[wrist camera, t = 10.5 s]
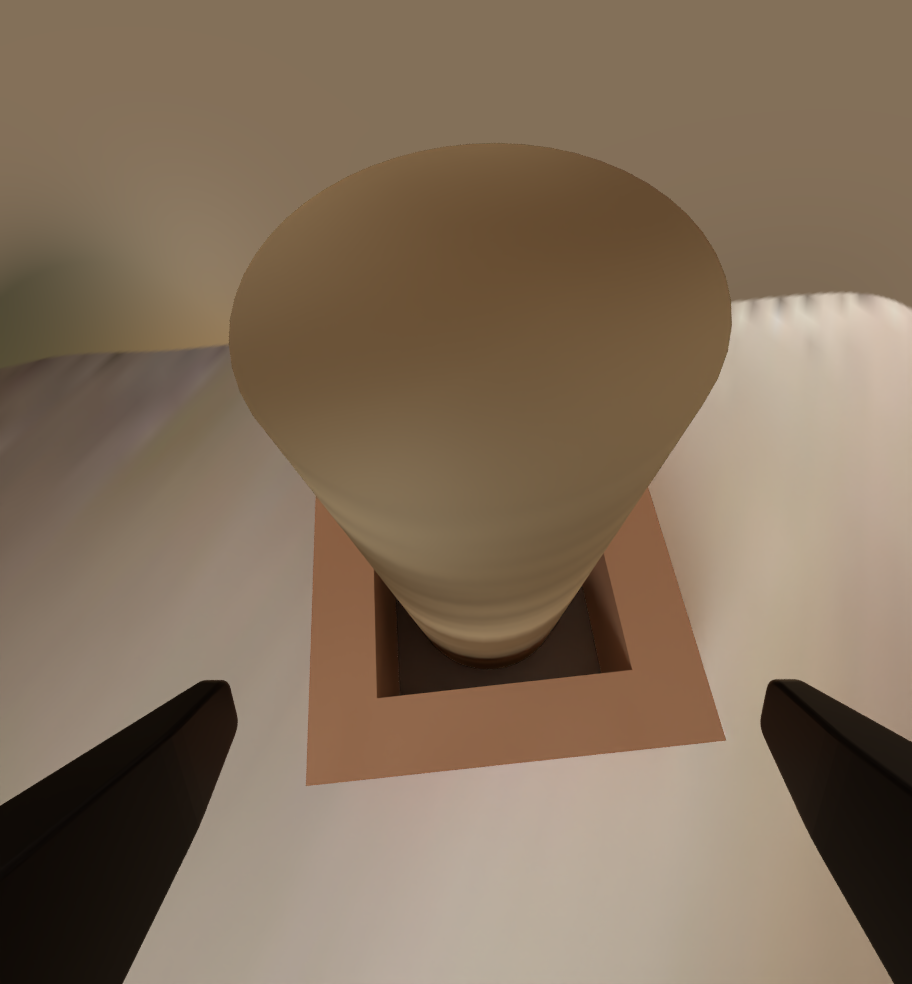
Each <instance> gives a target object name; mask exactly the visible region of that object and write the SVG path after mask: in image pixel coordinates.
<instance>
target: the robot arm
mask: <svg viewBox="0 0 912 984" xmlns="http://www.w3.org/2000/svg"><path fill="white" fill-rule="evenodd" d="M237 723H238V719H237V713H236V709H235V705H234V701H233V697H232V693H231V688H230V686H229V684H228V683H227V682H226V681H224V680H204V681H201V682H199V683H197V684H195V685H194V686H192V687H191V688H189V689H187V690H186V691H184V692H183V693H181V694H179V695H178V696H176V697H175V698H173V699H171V700H170V701H168V702H166V703H165V704H163V705H162V706H160V707H158V708H157V709H155V710H154V711H152V712H150V713H149V714H147V715H146V716H144V717H142V718H141V719H139V720H138V721H136V722H134V723H133V724H131V725H129V726H128V727H126V728H125V729H123V730H121V731H120V732H118V733H117V734H115V735H113V736H112V737H110V738H109V739H107V740H105V741H104V742H102V743H101V744H99V745H97V746H96V747H94V748H92V749H91V750H89V751H88V752H86V753H84V754H83V755H81V756H80V757H78V758H76V759H75V760H73V761H72V762H70V763H68V764H67V765H65V766H64V767H62V768H60V769H59V770H57V771H55V772H54V773H52V774H51V775H49V776H47V777H46V778H44V779H43V780H41V781H39V782H38V783H36V784H35V785H33V786H31V787H30V788H28V789H27V790H25V791H23V792H22V793H20V794H18V795H17V796H15V797H14V798H12V799H10V800H9V801H7V802H6V803H4V804H2V805H1V806H0V984H123V982H124V980H125V978H126V976H127V974H128V971H129V969H130V967H131V965H132V963H133V961H134V959H135V957H136V955H137V953H138V951H139V949H140V947H141V945H142V943H143V941H144V939H145V937H146V935H147V933H148V931H149V929H150V927H151V925H152V923H153V921H154V919H155V916H156V914H157V912H158V910H159V908H160V906H161V904H162V902H163V900H164V898H165V896H166V894H167V892H168V890H169V888H170V886H171V884H172V882H173V880H174V878H175V876H176V874H177V872H178V870H179V868H180V866H181V864H182V861H183V859H184V857H185V855H186V853H187V851H188V849H189V847H190V845H191V843H192V841H193V839H194V837H195V835H196V832H197V830H198V828H199V826H200V823H201V821H202V819H203V816H204V814H205V811H206V809H207V806H208V804H209V801H210V798H211V796H212V793H213V791H214V788H215V785H216V783H217V780H218V778H219V775H220V772H221V770H222V767H223V765H224V762H225V759H226V757H227V754H228V752H229V749H230V746H231V744H232V741H233V739H234V736H235V733H236V730H237ZM761 730H762V733H763V736H764V738H765V740H766V743H767V745H768V747H769V749H770V751H771V753H772V756H773V758H774V760H775V762H776V764H777V766H778V769H779V771H780V773H781V775H782V777H783V779H784V782H785V784H786V786H787V788H788V790H789V792H790V795H791V797H792V799H793V801H794V803H795V805H796V808H797V810H798V812H799V814H800V816H801V818H802V821H803V823H804V825H805V827H806V829H807V831H808V833H809V835H810V837H811V839H812V840H813V842H814V844H815V846H816V848H817V850H818V851H819V853H820V855H821V857H822V859H823V860H824V862H825V864H826V866H827V867H828V869H829V871H830V873H831V874H832V876H833V878H834V880H835V881H836V883H837V885H838V887H839V888H840V890H841V892H842V894H843V895H844V897H845V899H846V901H847V902H848V904H849V906H850V908H851V909H852V911H853V913H854V915H855V916H856V918H857V920H858V922H859V923H860V925H861V927H862V928H863V930H864V932H865V934H866V935H867V937H868V939H869V941H870V942H871V944H872V946H873V948H874V949H875V951H876V953H877V955H878V956H879V958H880V960H881V962H882V963H883V965H884V967H885V969H886V970H887V972H888V974H889V976H890V977H891V979H892V981H893V983H894V984H912V742H911V741H909V740H907V739H905V738H903V737H902V736H900V735H898V734H896V733H894V732H893V731H891V730H889V729H887V728H885V727H884V726H882V725H880V724H878V723H876V722H875V721H873V720H871V719H869V718H867V717H866V716H864V715H862V714H860V713H858V712H857V711H855V710H853V709H851V708H849V707H848V706H846V705H844V704H842V703H841V702H839V701H837V700H835V699H833V698H832V697H830V696H828V695H826V694H824V693H823V692H821V691H819V690H817V689H815V688H814V687H812V686H810V685H808V684H806V683H805V682H803V681H800V680H796V679H775V680H772V681H770V683H769V684H768V686H767V690H766V695H765V699H764V704H763V709H762V714H761Z"/></svg>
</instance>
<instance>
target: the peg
mask: <svg viewBox="0 0 912 984" xmlns="http://www.w3.org/2000/svg"><path fill="white" fill-rule="evenodd" d="M731 327H732V320H731V299H730V294H729V290H728V285H727V281H726V276H725V274H724V271H723V269H722V267H721V264H720V262H719V260H718V257H717V255H716V253H715V251H714V249H713V248H712V246H711V245H710V243H709V241H708V240H707V239H706V237H705V235H704V234H703V232H702V231H701V230H700V229H699V227H698V226H697V225H696V224H695V223H694V222H693V221H692V219H691V218H690V217H689V216H688V215H687V214H686V213H685V212H684V211H683V210H682V209H681V208H680V207H678V206H677V205H676V204H675V203H674V202H673V201H672V200H671V199H669V198H668V197H667V196H665V195H664V194H663V193H661V192H659V191H658V190H657V189H655V188H654V187H652V186H651V185H650V184H648V183H646V182H644V181H643V180H641V179H639V178H637V177H635V176H633V175H632V174H630V173H628V172H626V171H624V170H621V169H619V168H617V167H614V166H612V165H609V164H607V163H605V162H602V161H599V160H596V159H593V158H590V157H586V156H583V155H580V154H577V153H572V152H568V151H563V150H558V149H554V148H548V147H540V146H532V145H525V144H505V143H486V144H485V143H484V144H466V145H456V146H446V147H441V148H435V149H430V150H424V151H419V152H415V153H412V154H408V155H404V156H400V157H396V158H393V159H390V160H387V161H385V162H382V163H379V164H376V165H373V166H370V167H368V168H366V169H363V170H361V171H359V172H357V173H354V174H352V175H350V176H348V177H346V178H344V179H342V180H341V181H339V182H337V183H335V184H333V185H331V186H330V187H328V188H326V189H324V190H323V191H321V192H320V193H319V194H317V195H316V196H314V197H313V198H311V199H310V200H308V201H307V202H305V203H304V204H303V205H302V206H300V207H299V208H298V209H297V210H296V211H294V212H293V213H292V214H291V215H290V216H289V217H287V218H286V219H285V220H284V221H283V222H282V223H281V224H280V225H279V226H278V227H277V229H275V231H274V232H273V233H272V234H271V235H270V236H269V237H268V238H267V240H266V241H265V242H264V244H263V245H262V246H261V248H260V249H259V251H258V252H257V253H256V254H255V256H254V258H253V259H252V261H251V263H250V265H249V266H248V268H247V270H246V272H245V273H244V275H243V278H242V280H241V283H240V286H239V288H238V291H237V293H236V296H235V299H234V304H233V309H232V313H231V317H230V331H229V348H230V355H231V363H232V369H233V372H234V375H235V378H236V381H237V384H238V387H239V390H240V393H241V394H242V396H243V398H244V400H245V402H246V404H247V406H248V407H249V409H250V411H251V413H252V415H253V416H254V418H255V419H256V420H257V421H258V423H259V424H260V425H261V426H262V428H263V429H264V430H265V431H266V433H267V434H268V435H269V437H270V438H271V439H272V440H273V442H274V443H275V444H276V445H277V447H278V448H279V449H280V451H281V452H282V453H283V454H284V456H285V457H286V458H287V459H288V461H289V462H290V463H291V465H292V466H293V467H294V468H295V470H296V471H297V472H298V473H299V475H300V476H301V477H302V479H303V480H304V481H305V482H306V484H307V485H308V486H309V487H310V489H311V490H312V491H313V492H314V494H315V495H316V496H317V498H318V499H319V500H320V501H321V503H322V504H323V505H324V506H325V508H326V509H327V510H328V512H329V513H330V514H331V515H332V517H333V518H334V519H335V520H336V522H337V523H338V524H339V526H340V527H341V528H342V529H343V531H344V532H345V533H346V534H347V536H348V537H349V538H350V540H351V541H352V542H353V543H354V545H355V546H356V547H357V548H358V550H359V551H360V552H361V554H362V555H363V556H364V557H365V559H366V560H367V561H368V562H369V564H370V565H371V566H372V567H373V569H374V570H375V571H376V573H377V574H378V575H379V576H380V578H381V579H382V580H383V581H384V583H385V584H386V585H387V587H388V588H389V589H390V590H391V592H392V593H393V594H394V595H395V597H396V598H397V599H398V601H399V602H400V603H401V604H402V606H403V607H404V608H405V609H406V611H407V612H408V613H409V615H410V616H411V617H412V618H413V620H414V621H415V622H416V623H417V625H418V626H419V627H420V628H421V630H422V631H423V632H424V634H425V635H426V636H427V637H428V639H429V640H430V641H431V642H432V644H433V645H434V646H435V647H436V648H437V649H438V650H439V651H440V652H441V653H443V654H444V655H445V656H447V657H448V658H450V659H452V660H454V661H455V662H457V663H460V664H462V665H465V666H468V667H473V668H478V669H498V668H503V667H507V666H510V665H513V664H516V663H518V662H520V661H522V660H524V659H525V658H527V657H528V656H530V655H531V654H533V653H534V652H535V651H536V650H537V649H538V648H539V647H540V646H541V645H542V644H543V642H544V641H545V640H546V638H547V637H548V636H549V634H550V633H551V631H552V630H553V628H554V627H555V625H556V624H557V622H558V621H559V619H560V618H561V616H562V615H563V613H564V612H565V610H566V609H567V607H568V606H569V604H570V603H571V601H572V600H573V598H574V597H575V595H576V594H577V592H578V591H579V589H580V588H581V586H582V585H583V583H584V582H585V580H586V579H587V577H588V576H589V574H590V573H591V571H592V570H593V568H594V567H595V565H596V564H597V562H598V561H599V559H600V558H601V556H602V555H603V553H604V552H605V550H606V549H607V547H608V546H609V544H610V543H611V541H612V540H613V538H614V537H615V535H616V534H617V532H618V531H619V529H620V528H621V526H622V525H623V523H624V522H625V520H626V519H627V517H628V516H629V514H630V513H631V511H632V510H633V508H634V507H635V505H636V504H637V502H638V501H639V499H640V498H641V496H642V495H643V493H644V492H645V490H646V489H647V487H648V486H649V484H650V483H651V481H652V480H653V478H654V477H655V475H656V474H657V472H658V471H659V469H660V468H661V466H662V465H663V463H664V462H665V460H666V459H667V457H668V456H669V454H670V453H671V451H672V450H673V448H674V447H675V445H676V444H677V442H678V441H679V439H680V438H681V436H682V435H683V433H684V432H685V430H686V429H687V427H688V426H689V424H690V423H691V421H692V420H693V418H694V417H695V415H696V414H697V412H698V411H699V409H700V408H701V406H702V405H703V403H704V402H705V400H706V398H707V396H708V395H709V393H710V391H711V389H712V388H713V386H714V384H715V383H716V381H717V379H718V377H719V374H720V371H721V369H722V366H723V363H724V360H725V357H726V355H727V352H728V346H729V339H730V333H731Z"/></svg>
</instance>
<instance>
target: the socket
mask: <svg viewBox="0 0 912 984" xmlns="http://www.w3.org/2000/svg"><path fill="white" fill-rule="evenodd" d="M582 588H583V592H584V597H585V601H586V606H587V610H588V615H589V620H590V624H591V629H592V633H593V638H594V643H595V647H596V652H597V656H598V661H599V665H600V670H601V673H600V674H591V675H582V676H573V677H564V678H555V679H546V680H537V681H528V682H519V683H510V684H501V685H492V686H483V687H474V688H465V689H456V690H447V691H438V692H429V693H420V694H411V695H402V696H400V682H399V659H398V636H397V613H396V597H395V595H394V594H393V593H392V592H391V590H390V589H389V588H388V587H387V585H386V584H385V583H384V581H383V580H382V579H381V578H380V576H379V575H378V574H377V573H376V571H375V570H374V569H373V567H372V566H371V565H370V564H369V562H368V561H367V560H366V559H365V557H364V556H363V555H362V554H361V552H360V551H359V550H358V548H357V547H356V546H355V545H354V543H353V542H352V541H351V540H350V538H349V537H348V536H347V534H346V533H345V532H344V531H343V529H342V528H341V527H340V526H339V524H338V523H337V522H336V520H335V519H334V518H333V517H332V515H331V514H330V513H329V512H328V510H327V509H326V508H325V506H324V505H323V504H322V503H321V501H320V500H319V499H318V498H317V496H316V506H315V536H314V565H313V595H312V625H311V654H310V684H309V714H308V743H307V773H306V786H310V785H319V784H329V783H338V782H347V781H356V780H365V779H375V778H384V777H393V776H402V775H412V774H421V773H430V772H439V771H449V770H458V769H467V768H476V767H485V766H495V765H504V764H513V763H522V762H532V761H541V760H550V759H559V758H568V757H578V756H587V755H596V754H605V753H615V752H624V751H633V750H642V749H652V748H661V747H670V746H679V745H688V744H698V743H707V742H716V741H725V740H726V738H725V735H724V732H723V729H722V725H721V722H720V719H719V716H718V712H717V709H716V706H715V703H714V700H713V696H712V693H711V690H710V687H709V683H708V680H707V677H706V674H705V670H704V667H703V664H702V661H701V657H700V654H699V651H698V648H697V644H696V641H695V638H694V635H693V631H692V628H691V625H690V622H689V618H688V615H687V612H686V609H685V606H684V602H683V599H682V596H681V593H680V589H679V586H678V583H677V580H676V576H675V573H674V570H673V567H672V563H671V560H670V557H669V554H668V550H667V547H666V544H665V541H664V537H663V534H662V531H661V528H660V524H659V521H658V518H657V515H656V512H655V508H654V505H653V502H652V499H651V495H650V492H649V489H648V487H647V489H646V490H645V492H644V493H643V495H642V496H641V498H640V499H639V501H638V502H637V504H636V505H635V507H634V508H633V510H632V511H631V513H630V514H629V516H628V517H627V519H626V520H625V522H624V523H623V525H622V526H621V528H620V529H619V531H618V532H617V534H616V535H615V537H614V538H613V540H612V541H611V543H610V544H609V546H608V547H607V549H606V550H605V552H604V553H603V555H602V556H601V558H600V559H599V561H598V562H597V564H596V565H595V567H594V568H593V570H592V571H591V573H590V574H589V576H588V577H587V579H586V580H585V582H584V583H583V585H582Z"/></svg>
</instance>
